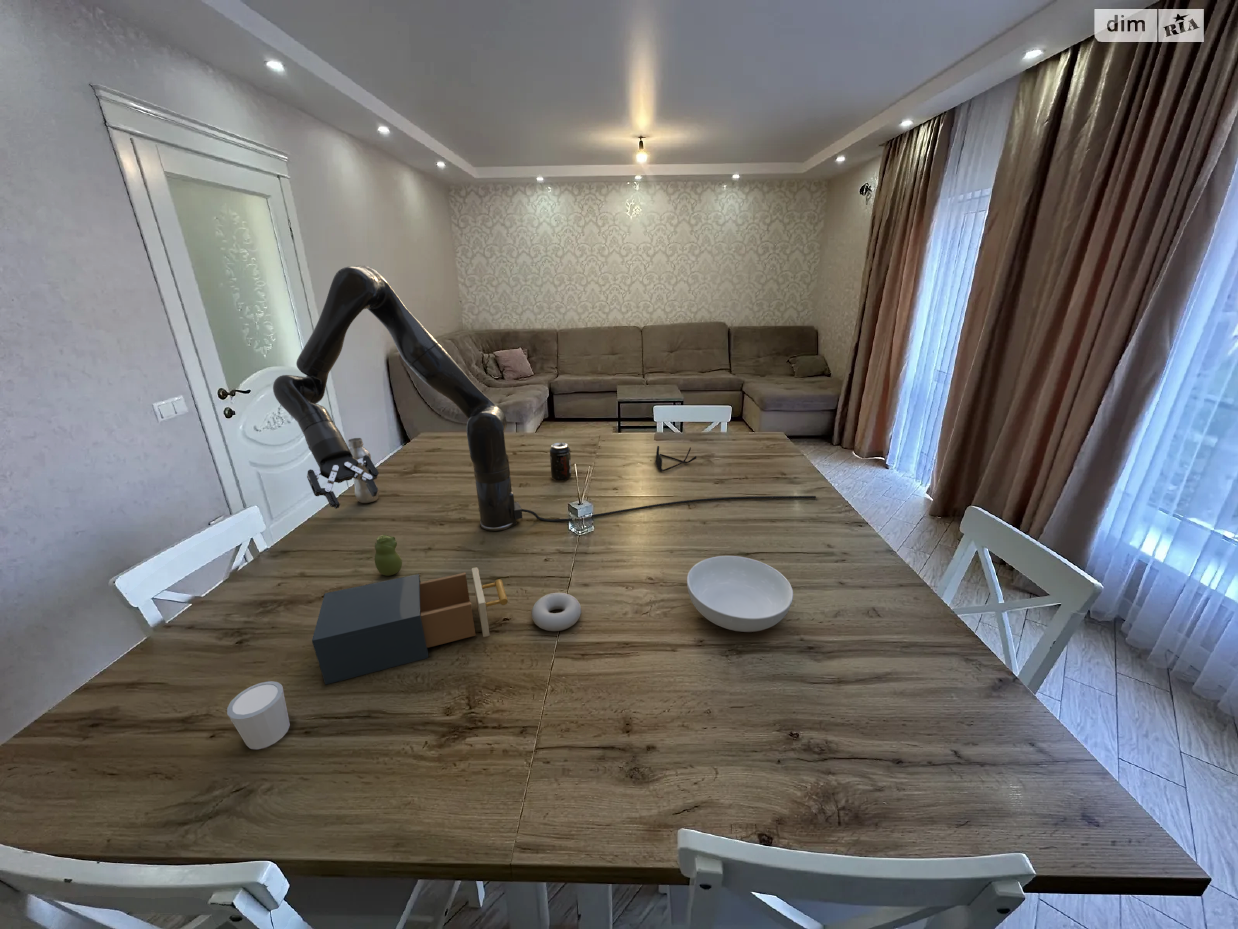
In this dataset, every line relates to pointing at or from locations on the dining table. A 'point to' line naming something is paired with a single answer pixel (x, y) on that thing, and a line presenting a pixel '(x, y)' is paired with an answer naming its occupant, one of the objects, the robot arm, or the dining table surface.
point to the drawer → (454, 607)
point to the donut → (558, 619)
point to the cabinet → (369, 629)
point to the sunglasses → (659, 459)
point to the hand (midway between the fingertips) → (356, 500)
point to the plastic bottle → (360, 486)
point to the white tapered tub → (260, 714)
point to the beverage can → (560, 461)
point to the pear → (387, 555)
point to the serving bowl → (739, 593)
